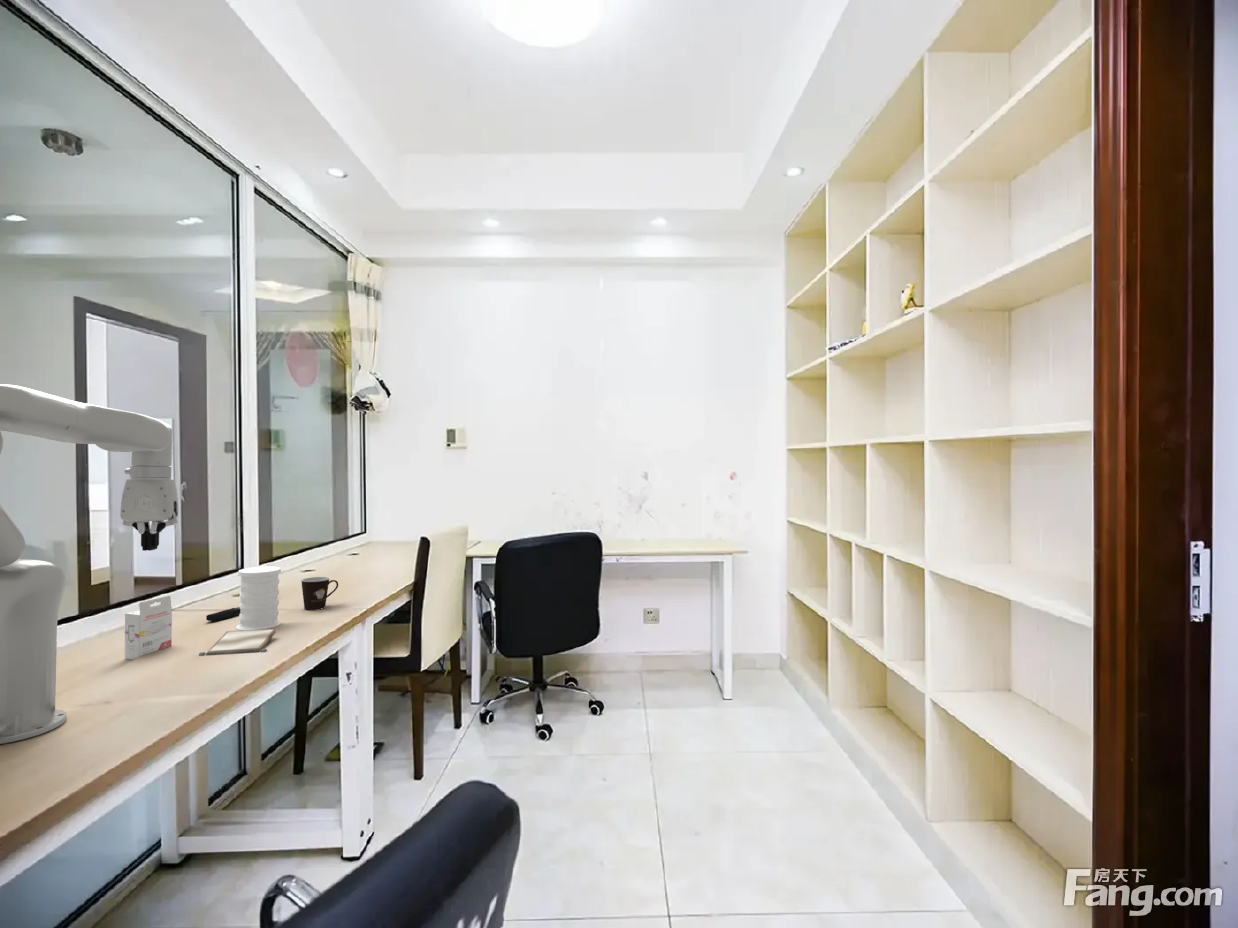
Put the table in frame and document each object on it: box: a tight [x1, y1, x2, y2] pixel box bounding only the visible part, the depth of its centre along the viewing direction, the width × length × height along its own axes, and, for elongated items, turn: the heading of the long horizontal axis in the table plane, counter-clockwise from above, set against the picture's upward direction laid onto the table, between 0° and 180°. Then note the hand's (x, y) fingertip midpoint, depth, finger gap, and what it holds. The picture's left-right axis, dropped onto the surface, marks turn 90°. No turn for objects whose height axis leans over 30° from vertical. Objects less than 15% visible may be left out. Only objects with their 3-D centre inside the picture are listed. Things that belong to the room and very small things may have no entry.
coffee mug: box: [300, 576, 339, 611], centre depth 197 cm, size 12×9×10 cm
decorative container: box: [235, 565, 282, 631], centre depth 171 cm, size 12×12×18 cm
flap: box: [205, 628, 277, 656], centre depth 151 cm, size 13×12×1 cm
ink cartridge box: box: [124, 595, 173, 661], centre depth 147 cm, size 9×5×15 cm, turn 168°
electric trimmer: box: [205, 606, 241, 622], centre depth 183 cm, size 4×16×3 cm, turn 166°
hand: (149, 549), depth 136 cm, fingers closed
